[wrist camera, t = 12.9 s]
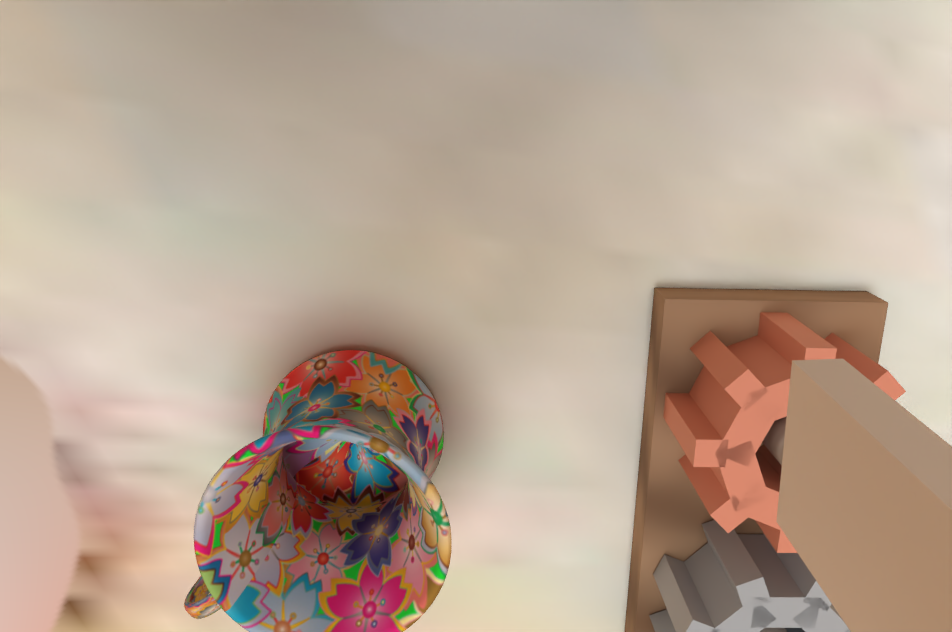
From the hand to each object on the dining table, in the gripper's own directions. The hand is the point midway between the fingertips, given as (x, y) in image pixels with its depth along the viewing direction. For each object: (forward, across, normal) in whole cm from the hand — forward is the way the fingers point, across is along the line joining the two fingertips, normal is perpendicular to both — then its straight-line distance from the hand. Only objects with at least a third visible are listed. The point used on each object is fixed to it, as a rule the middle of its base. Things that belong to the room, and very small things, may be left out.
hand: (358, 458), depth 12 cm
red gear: (+23, +15, -10) cm, 30 cm away
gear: (+23, +15, -20) cm, 34 cm away
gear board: (+25, +15, -15) cm, 33 cm away
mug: (+26, -5, -12) cm, 29 cm away
